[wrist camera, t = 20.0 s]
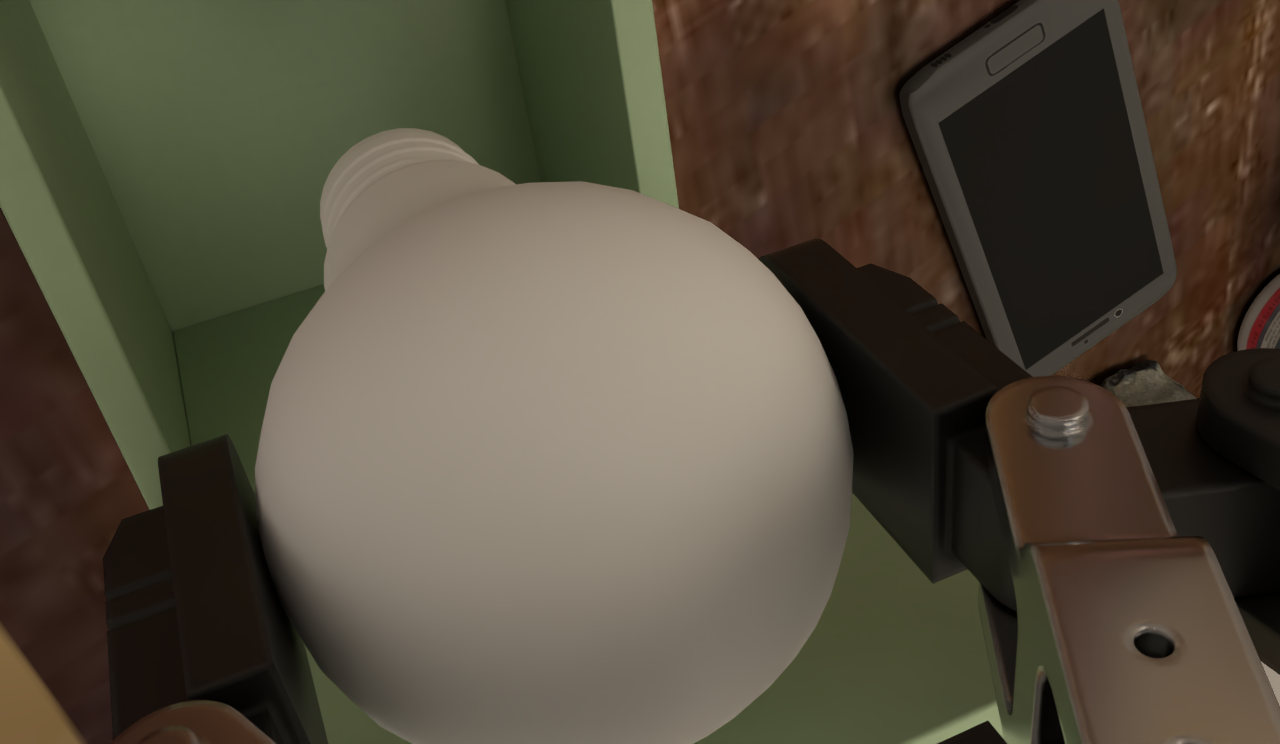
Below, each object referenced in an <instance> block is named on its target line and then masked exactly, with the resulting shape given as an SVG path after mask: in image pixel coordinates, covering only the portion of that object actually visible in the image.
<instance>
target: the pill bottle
mask: <svg viewBox="0 0 1280 744" xmlns="http://www.w3.org/2000/svg"><path fill="white" fill-rule="evenodd" d="M1255 348H1273V349H1280V274H1279V275H1277V276H1276V277H1275V278H1274V279H1273V280H1271V281H1270V282H1269V283H1268V284H1267V285H1266V286H1265V287H1264V289H1263V290H1262V291H1261V292H1260V293H1259V294H1258V296H1257V297H1256V298H1255V300H1254V301H1253V303H1252V304H1251V306H1250V307H1249V309H1248V311H1247V313H1246V315H1245V317H1244V319H1243V321H1242V324H1241V327H1240V331H1239V335H1238V341H1237V349H1238V351H1240V350H1246V349H1255Z"/></svg>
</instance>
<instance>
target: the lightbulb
mask: <svg viewBox="0 0 1280 744" xmlns="http://www.w3.org/2000/svg"><path fill="white" fill-rule="evenodd" d="M320 220H321V224H322V231H323V236H324V241H325V245H326V248H327V253H326V257H325V262H324V288H325V292H324V294H323V295H322V296H321V298H320V299H319V300H318V302H317V303H316V305H315V306H314V307H313V309H312V310H311V311H310V313H309V314H308V316H307V317H306V318H305V320H304V321H303V322H302V324H301V325H300V326H299V328H298V329H297V331H296V332H295V333H294V335H293V337H292V339H291V341H290V343H289V346H288V348H287V350H286V352H285V354H284V356H283V359H282V361H281V363H280V365H279V367H278V370H277V372H276V374H275V376H274V378H273V381H272V383H271V387H270V392H269V396H268V401H267V406H266V410H265V415H264V420H263V424H262V429H261V434H260V441H259V447H258V453H257V459H256V465H255V496H256V521H257V525H258V530H259V534H260V539H261V543H262V548H263V552H264V556H265V559H266V563H267V566H268V569H269V573H270V576H271V579H272V582H273V585H274V587H275V590H276V593H277V595H278V598H279V601H280V603H281V606H282V608H283V609H284V611H285V613H286V615H287V616H288V618H289V620H290V621H291V623H292V625H293V626H294V628H295V630H296V631H297V633H298V634H299V636H300V638H301V639H302V641H303V642H304V644H305V646H306V647H307V649H308V650H309V652H310V653H311V655H312V657H313V658H314V660H315V661H316V663H317V665H318V666H319V668H320V669H321V671H322V672H323V673H324V674H325V675H326V676H327V677H328V678H329V679H330V680H331V681H332V682H333V683H334V684H335V685H336V686H337V687H338V688H339V689H340V690H341V691H342V692H343V693H344V694H345V695H346V696H347V697H348V698H349V699H350V700H351V701H353V702H354V703H355V704H356V705H357V706H358V707H359V708H360V709H361V710H362V711H363V712H365V713H366V714H367V715H368V716H369V717H370V718H371V719H372V720H373V721H374V722H376V723H377V724H378V725H379V726H380V727H382V728H384V729H386V730H387V731H389V732H391V733H393V734H395V735H397V736H399V737H401V738H402V739H404V740H406V741H408V742H410V743H412V744H694V743H695V742H697V741H699V740H701V739H703V738H705V737H707V736H708V735H710V734H711V733H713V732H714V731H716V730H717V729H719V728H720V727H722V726H723V725H725V724H726V723H727V722H729V721H730V720H732V719H733V718H735V717H736V716H737V715H738V714H739V713H740V712H742V711H743V710H744V709H745V708H746V707H747V706H748V705H750V704H751V703H752V702H753V701H754V700H755V699H756V698H758V697H759V696H760V695H761V694H762V693H763V692H764V691H766V690H767V689H768V688H769V687H770V686H771V685H772V684H773V682H774V681H775V680H776V679H777V678H778V677H779V676H780V675H781V673H782V672H783V671H784V670H785V669H786V668H787V667H788V666H789V664H790V663H791V662H792V661H793V660H794V659H795V657H796V656H797V654H798V653H799V651H800V650H801V648H802V647H803V645H804V644H805V642H806V641H807V640H808V638H809V637H810V635H811V634H812V632H813V631H814V629H815V628H816V626H817V623H818V621H819V619H820V617H821V615H822V613H823V611H824V608H825V606H826V604H827V602H828V600H829V598H830V596H831V593H832V589H833V586H834V583H835V580H836V576H837V573H838V570H839V567H840V563H841V559H842V556H843V552H844V548H845V544H846V541H847V537H848V533H849V529H850V517H851V500H852V480H853V457H854V452H853V446H852V440H851V435H850V429H849V423H848V417H847V412H846V409H845V406H844V402H843V399H842V395H841V392H840V388H839V385H838V381H837V378H836V376H835V373H834V371H833V369H832V367H831V365H830V362H829V360H828V358H827V356H826V354H825V351H824V349H823V347H822V345H821V342H820V340H819V338H818V336H817V335H816V333H815V331H814V329H813V328H812V326H811V324H810V322H809V321H808V319H807V317H806V315H805V314H804V312H803V310H802V308H801V307H800V306H799V304H798V303H797V302H796V301H795V299H794V298H793V297H792V296H791V295H790V293H789V292H788V291H787V290H786V288H785V287H784V286H783V285H782V284H781V282H780V281H779V280H778V279H777V277H776V276H775V275H774V274H773V273H772V272H771V271H770V270H769V269H768V268H767V267H766V266H765V265H764V264H763V263H762V262H761V261H760V260H758V259H757V258H756V257H755V256H754V255H753V254H752V253H751V252H750V251H749V250H748V249H746V248H745V247H743V246H742V245H741V244H739V243H738V242H737V241H735V240H734V239H733V238H731V237H730V236H728V235H727V234H726V233H724V232H723V231H722V230H720V229H719V228H718V227H716V226H715V225H713V224H712V223H711V222H709V221H706V220H704V219H701V218H699V217H697V216H694V215H692V214H689V213H687V212H685V211H682V210H680V209H677V208H675V207H673V206H670V205H668V204H665V203H663V202H660V201H658V200H655V199H653V198H650V197H648V196H645V195H643V194H640V193H638V192H635V191H633V190H629V189H623V188H617V187H612V186H606V185H600V184H595V183H589V182H583V181H575V182H538V183H524V184H517V185H516V184H515V183H514V182H512V181H511V180H509V179H508V178H506V177H505V176H503V175H502V174H500V173H499V172H496V171H494V170H491V169H489V168H486V167H484V166H481V165H479V164H478V163H477V162H476V161H475V160H474V159H473V158H472V157H471V156H470V155H468V154H467V153H465V152H464V151H463V150H462V149H461V148H460V147H459V146H458V145H457V144H455V143H454V142H452V141H451V140H449V139H448V138H446V137H444V136H442V135H439V134H437V133H434V132H432V131H427V130H422V129H417V128H397V129H392V130H387V131H382V132H380V133H377V134H375V135H372V136H370V137H367V138H365V139H364V140H362V141H360V142H359V143H357V144H356V145H354V146H353V147H351V148H350V149H349V150H348V151H347V152H346V153H345V154H344V155H343V156H342V157H341V158H340V159H339V160H338V161H337V163H336V164H335V166H334V167H333V168H332V170H331V171H330V173H329V175H328V178H327V180H326V182H325V184H324V187H323V191H322V196H321V200H320Z"/></svg>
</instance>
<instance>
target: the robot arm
mask: <svg viewBox="0 0 1280 744" xmlns="http://www.w3.org/2000/svg"><path fill="white" fill-rule="evenodd" d="M758 260H760V261H761V262H762V263H763V264H764V265H765V266H766V267H767V268H768V269H769V270H770V271H771V272H772V273H773V274H774V275H775V276H776V277H777V279H778V280H779V281H780V282H781V284H782V285H783V286H784V287H785V288H786V290H787V291H788V292H789V293H790V295H791V296H792V297H793V298H794V299H795V301H796V302H797V303H798V304H799V306H800V307H801V308H802V310H803V312H804V314H805V315H806V317H807V319H808V321H809V322H810V324H811V326H812V328H813V329H814V331H815V333H816V335H817V336H818V338H819V340H820V342H821V345H822V347H823V349H824V351H825V354H826V356H827V358H828V360H829V362H830V365H831V367H832V369H833V371H834V373H835V376H836V378H837V381H838V385H839V388H840V392H841V395H842V399H843V402H844V406H845V409H846V412H847V417H848V423H849V429H850V435H851V440H852V446H853V452H854V457H853V480H852V493H853V494H854V495H855V496H856V497H857V498H858V500H859V501H860V502H861V503H862V504H863V505H864V506H865V508H866V509H867V510H868V511H869V512H870V513H871V514H872V515H873V517H874V518H875V519H876V520H877V521H878V522H879V523H880V524H881V526H882V527H883V528H884V529H885V530H886V531H887V532H888V534H889V535H890V536H891V537H892V538H893V539H894V540H895V541H896V543H897V544H898V545H899V546H900V547H901V548H902V549H903V551H904V552H905V553H906V554H907V555H908V556H909V557H910V558H911V560H912V561H913V562H914V563H915V564H916V565H917V566H918V567H919V569H920V570H921V571H922V572H923V573H924V574H925V575H926V577H927V578H928V579H929V580H930V581H931V582H932V583H933V584H934V583H936V582H939V581H941V580H943V579H946V578H948V577H951V576H953V575H955V574H958V573H960V572H962V571H965V570H967V569H968V570H969V571H970V572H971V573H972V574H973V575H974V577H975V578H976V579H977V580H978V581H979V588H978V609H979V615H980V620H981V625H982V630H983V635H984V640H985V645H986V650H987V655H988V660H989V666H990V671H991V676H992V681H993V686H994V691H995V696H996V701H997V706H998V711H999V716H1000V721H1001V726H1002V732H1003V737H1004V739H1003V738H1002V737H1001V735H1000V734H999V733H998V732H997V730H996V729H995V728H994V727H993V726H992V724H991V723H990V722H989V721H985V722H983V723H981V724H979V725H977V726H974V727H972V728H970V729H968V730H966V731H964V732H961V733H959V734H957V735H955V736H953V737H950V738H948V739H946V740H944V741H942V742H939V743H937V744H1280V706H1279V703H1278V701H1277V699H1276V697H1275V694H1274V692H1273V689H1272V687H1271V684H1270V682H1269V680H1268V677H1267V675H1266V673H1265V671H1264V668H1263V666H1262V663H1261V661H1262V662H1263V663H1264V664H1266V665H1267V666H1269V667H1270V668H1271V669H1273V670H1274V671H1276V672H1277V673H1278V674H1280V349H1273V348H1255V349H1246V350H1240V351H1236V352H1232V353H1229V354H1227V355H1224V356H1222V357H1220V358H1218V359H1217V360H1215V361H1214V362H1212V363H1211V365H1210V366H1209V367H1208V368H1207V369H1206V371H1205V373H1204V377H1203V382H1202V388H1201V394H1200V398H1198V399H1190V400H1182V401H1174V402H1166V403H1159V404H1151V405H1143V406H1133V407H1126V406H1125V405H1124V404H1123V403H1122V401H1121V400H1120V399H1119V398H1118V397H1116V396H1115V395H1114V394H1113V393H1111V392H1110V391H1108V390H1106V389H1105V388H1103V387H1101V386H1099V385H1096V384H1094V383H1092V382H1088V381H1085V380H1082V379H1077V378H1072V377H1065V376H1038V377H1032V376H1031V375H1030V374H1029V373H1027V372H1026V371H1025V370H1024V369H1022V368H1021V367H1020V366H1019V365H1017V364H1016V363H1015V362H1014V361H1012V360H1011V359H1010V358H1009V357H1007V356H1006V355H1005V354H1004V353H1003V352H1001V351H1000V350H999V349H998V348H996V347H995V346H994V345H993V344H991V343H990V342H989V341H988V340H986V339H985V338H984V337H983V336H981V335H980V334H979V333H978V332H976V331H975V330H974V329H973V328H971V327H970V326H969V325H968V324H967V323H965V322H964V321H963V322H960V321H959V319H958V316H957V315H955V314H954V313H953V312H952V311H950V310H949V309H948V308H947V307H945V306H944V305H943V304H939V305H938V303H937V300H936V299H935V298H934V297H933V296H932V295H930V294H929V293H928V292H927V291H926V290H924V289H923V288H922V287H921V286H919V285H918V284H917V283H916V282H914V281H913V280H912V279H911V278H909V277H906V276H904V275H901V274H898V273H895V272H892V271H890V270H887V269H884V268H881V267H878V266H876V265H873V264H868V265H865V266H862V267H859V268H855V267H854V266H853V265H852V264H851V263H850V262H848V261H847V260H846V259H845V258H844V257H842V256H841V255H840V254H839V253H838V252H837V251H835V250H834V249H833V248H832V247H831V246H829V245H828V244H827V243H826V242H824V241H823V240H821V239H813V240H810V241H807V242H804V243H801V244H798V245H795V246H792V247H789V248H786V249H783V250H780V251H777V252H774V253H771V254H768V255H765V256H762V257H760V258H759V259H758ZM158 469H159V477H160V485H161V493H162V501H163V506H160V507H157V508H154V509H151V510H149V511H146V512H143V513H140V514H137V515H134V516H131V517H128V518H125V519H122V521H121V523H120V525H119V527H118V529H117V531H116V533H115V535H114V537H113V539H112V541H111V543H110V545H109V547H108V549H107V551H106V554H105V556H104V558H103V565H104V583H105V595H106V598H107V601H106V620H107V625H108V628H109V631H107V638H108V656H109V674H110V692H111V710H112V728H113V741H112V742H111V743H110V744H328V740H327V736H326V732H325V727H324V723H323V719H322V715H321V711H320V707H319V703H318V698H317V694H316V690H315V686H314V682H313V678H312V674H311V669H310V665H309V661H308V657H307V653H306V649H305V644H304V642H303V641H302V639H301V638H300V636H299V634H298V633H297V631H296V630H295V628H294V626H293V625H292V623H291V621H290V620H289V618H288V616H287V615H286V613H285V611H284V609H283V608H282V606H281V603H280V601H279V598H278V595H277V593H276V590H275V587H274V585H273V582H272V579H271V576H270V573H269V569H268V566H267V563H266V559H265V556H264V552H263V548H262V543H261V539H260V534H259V530H258V525H257V521H256V496H255V494H254V491H253V489H252V486H251V484H250V482H249V479H248V477H247V475H246V472H245V470H244V467H243V465H242V463H241V460H240V458H239V456H238V453H237V451H236V449H235V446H234V444H233V442H232V440H231V438H230V437H229V435H228V434H225V435H222V436H219V437H217V438H214V439H211V440H208V441H205V442H202V443H199V444H196V445H193V446H190V447H187V448H184V449H181V450H178V451H175V452H172V453H169V454H166V455H163V456H160V457H158Z"/></svg>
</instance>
